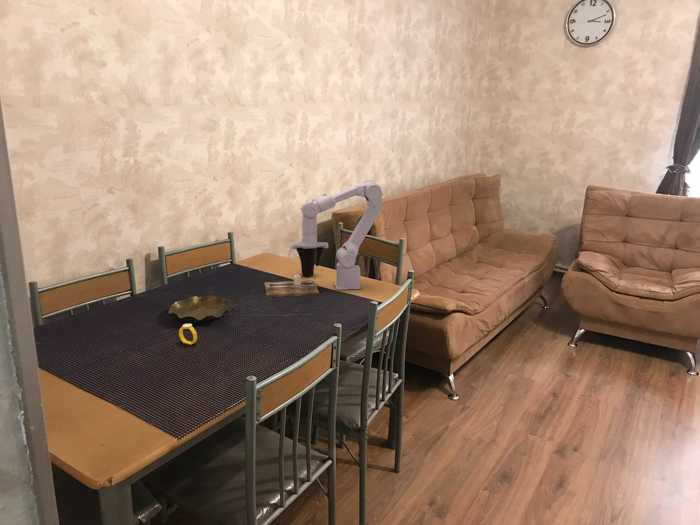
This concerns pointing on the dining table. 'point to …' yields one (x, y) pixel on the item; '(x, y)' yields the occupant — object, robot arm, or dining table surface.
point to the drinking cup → (308, 262)
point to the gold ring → (189, 326)
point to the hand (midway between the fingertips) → (309, 266)
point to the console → (290, 288)
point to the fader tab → (297, 280)
